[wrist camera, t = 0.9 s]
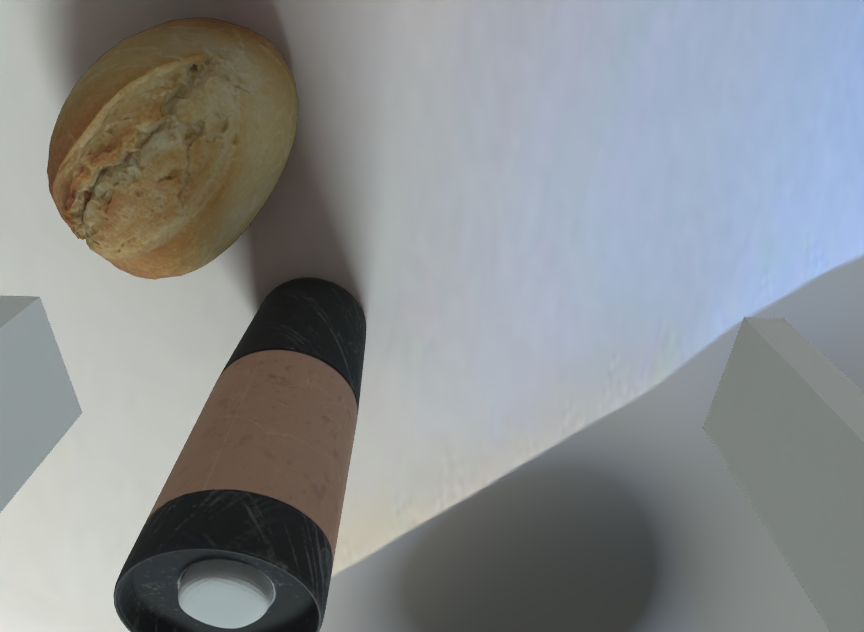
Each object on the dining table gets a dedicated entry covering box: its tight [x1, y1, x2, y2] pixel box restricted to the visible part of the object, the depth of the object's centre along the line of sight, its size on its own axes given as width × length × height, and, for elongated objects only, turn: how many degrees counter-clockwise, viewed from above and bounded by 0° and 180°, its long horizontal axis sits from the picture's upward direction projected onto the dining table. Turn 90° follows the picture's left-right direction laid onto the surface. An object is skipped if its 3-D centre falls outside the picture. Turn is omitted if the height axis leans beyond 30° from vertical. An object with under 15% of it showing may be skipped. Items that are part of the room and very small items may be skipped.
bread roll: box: [47, 18, 299, 279], centre depth 28 cm, size 10×15×8 cm, turn 140°
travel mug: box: [114, 278, 366, 632], centre depth 29 cm, size 8×8×20 cm
